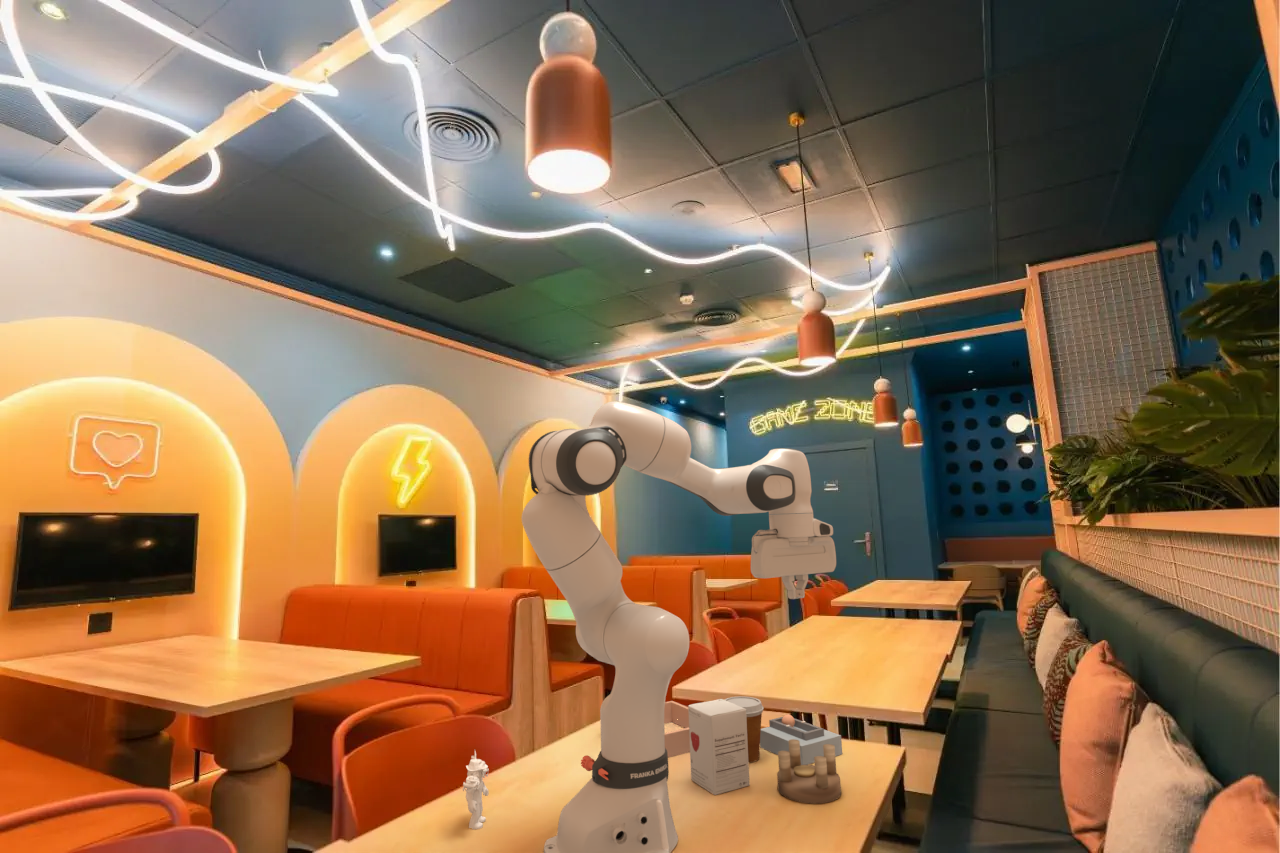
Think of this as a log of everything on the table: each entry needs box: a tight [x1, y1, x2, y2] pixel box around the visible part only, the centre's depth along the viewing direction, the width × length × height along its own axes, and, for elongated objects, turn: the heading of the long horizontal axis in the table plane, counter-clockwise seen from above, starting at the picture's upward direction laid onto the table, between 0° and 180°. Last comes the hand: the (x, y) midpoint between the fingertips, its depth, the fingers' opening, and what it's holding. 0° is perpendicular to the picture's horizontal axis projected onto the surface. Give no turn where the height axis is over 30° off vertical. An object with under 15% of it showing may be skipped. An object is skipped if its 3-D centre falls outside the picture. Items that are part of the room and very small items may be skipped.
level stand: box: [760, 716, 843, 765], centre depth 148 cm, size 12×14×6 cm
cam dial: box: [776, 739, 842, 804], centre depth 126 cm, size 12×12×8 cm
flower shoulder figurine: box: [462, 750, 490, 830], centre depth 117 cm, size 9×4×12 cm, turn 178°
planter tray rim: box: [664, 700, 690, 758], centre depth 158 cm, size 21×22×5 cm
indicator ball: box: [782, 714, 795, 727], centre depth 151 cm, size 3×3×3 cm
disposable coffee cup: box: [724, 695, 764, 763], centre depth 145 cm, size 10×10×12 cm
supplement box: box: [687, 698, 751, 796], centre depth 132 cm, size 9×9×15 cm
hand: (796, 598), depth 128 cm, fingers closed
